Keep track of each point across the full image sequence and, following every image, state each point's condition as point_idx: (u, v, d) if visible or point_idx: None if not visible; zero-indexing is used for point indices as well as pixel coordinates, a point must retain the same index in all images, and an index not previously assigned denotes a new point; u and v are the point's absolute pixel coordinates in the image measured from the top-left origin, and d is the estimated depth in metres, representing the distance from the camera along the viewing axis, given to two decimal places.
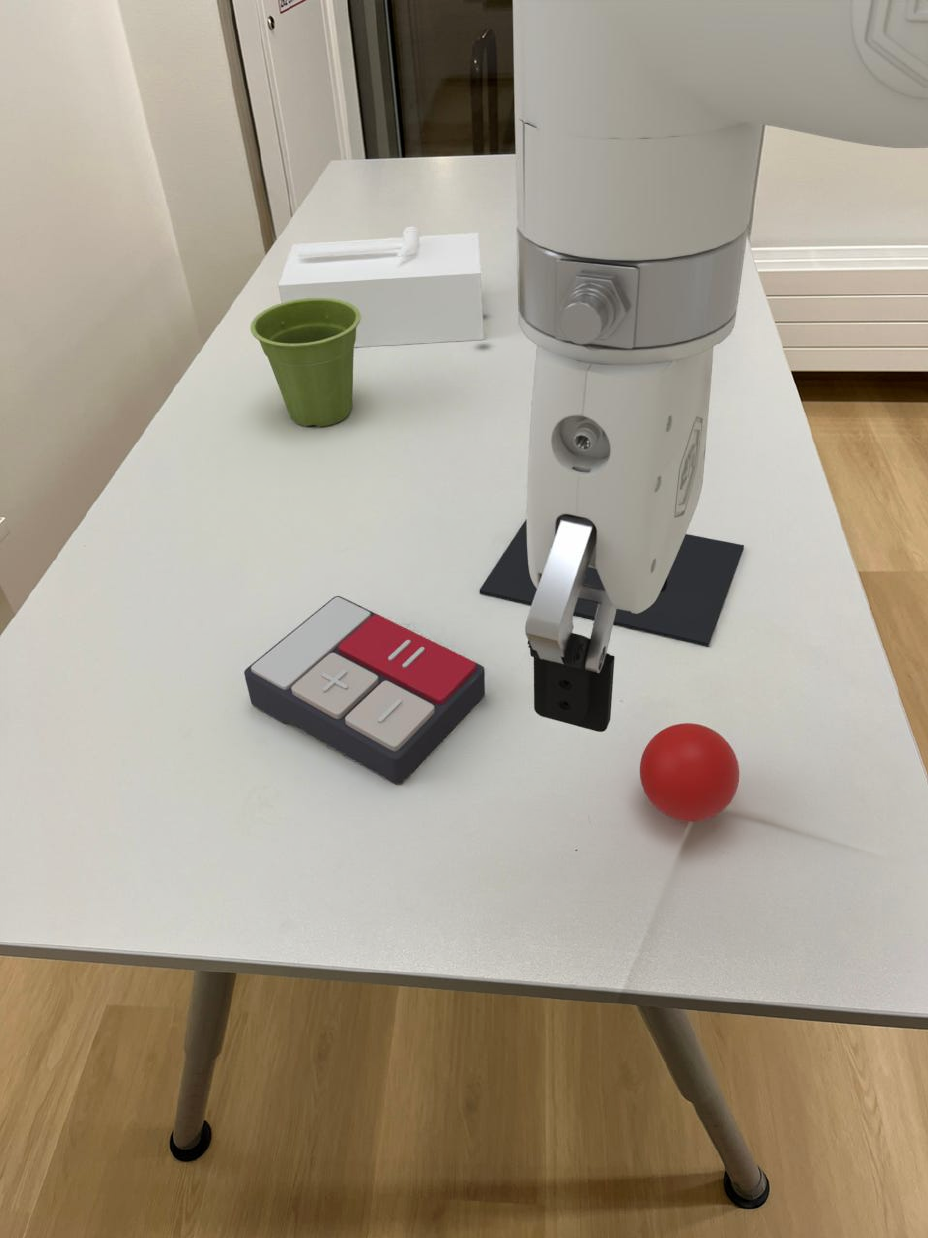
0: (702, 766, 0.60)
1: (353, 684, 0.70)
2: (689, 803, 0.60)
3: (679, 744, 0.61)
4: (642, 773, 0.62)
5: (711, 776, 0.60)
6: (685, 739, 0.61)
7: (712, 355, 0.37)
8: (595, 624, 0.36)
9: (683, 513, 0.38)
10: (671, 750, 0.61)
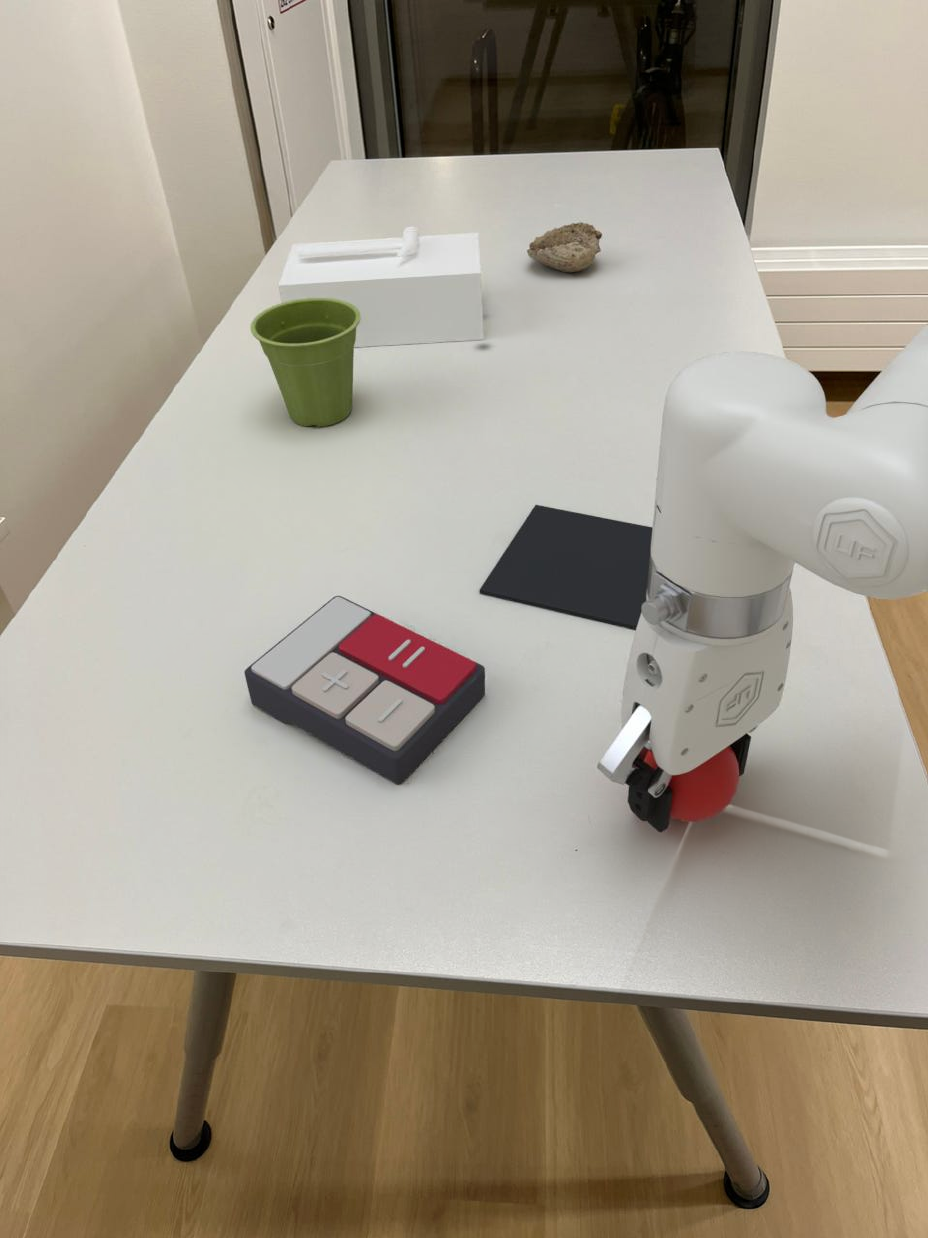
0: (702, 765, 0.60)
1: (354, 684, 0.70)
2: (689, 803, 0.60)
3: None
4: None
5: (711, 776, 0.60)
6: None
7: (785, 634, 0.55)
8: (656, 771, 0.58)
9: (735, 724, 0.57)
10: None
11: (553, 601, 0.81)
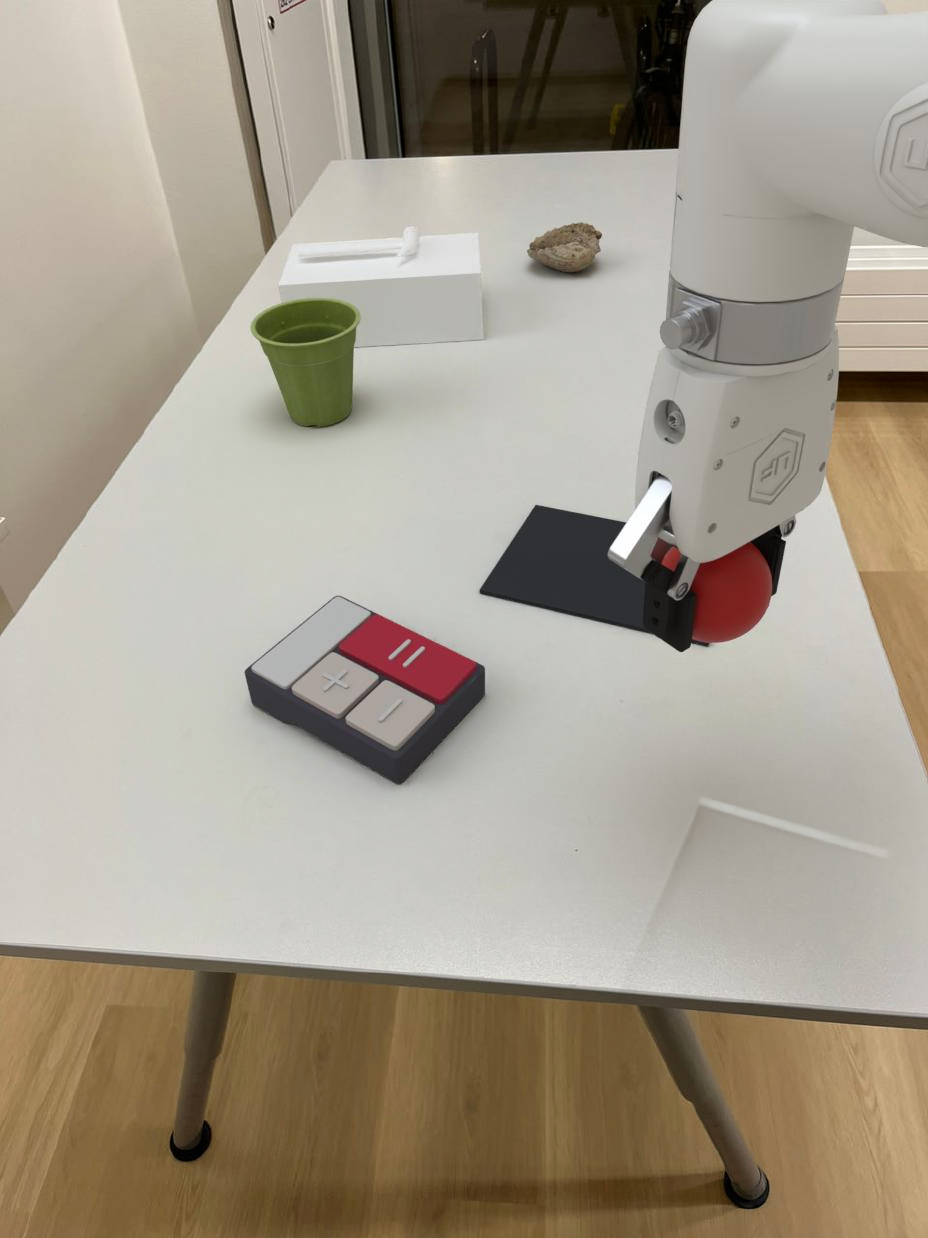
0: (730, 567, 0.51)
1: (354, 684, 0.70)
2: (715, 613, 0.51)
3: None
4: None
5: (740, 580, 0.51)
6: None
7: (830, 387, 0.46)
8: (677, 566, 0.49)
9: (771, 503, 0.48)
10: None
11: (553, 601, 0.81)
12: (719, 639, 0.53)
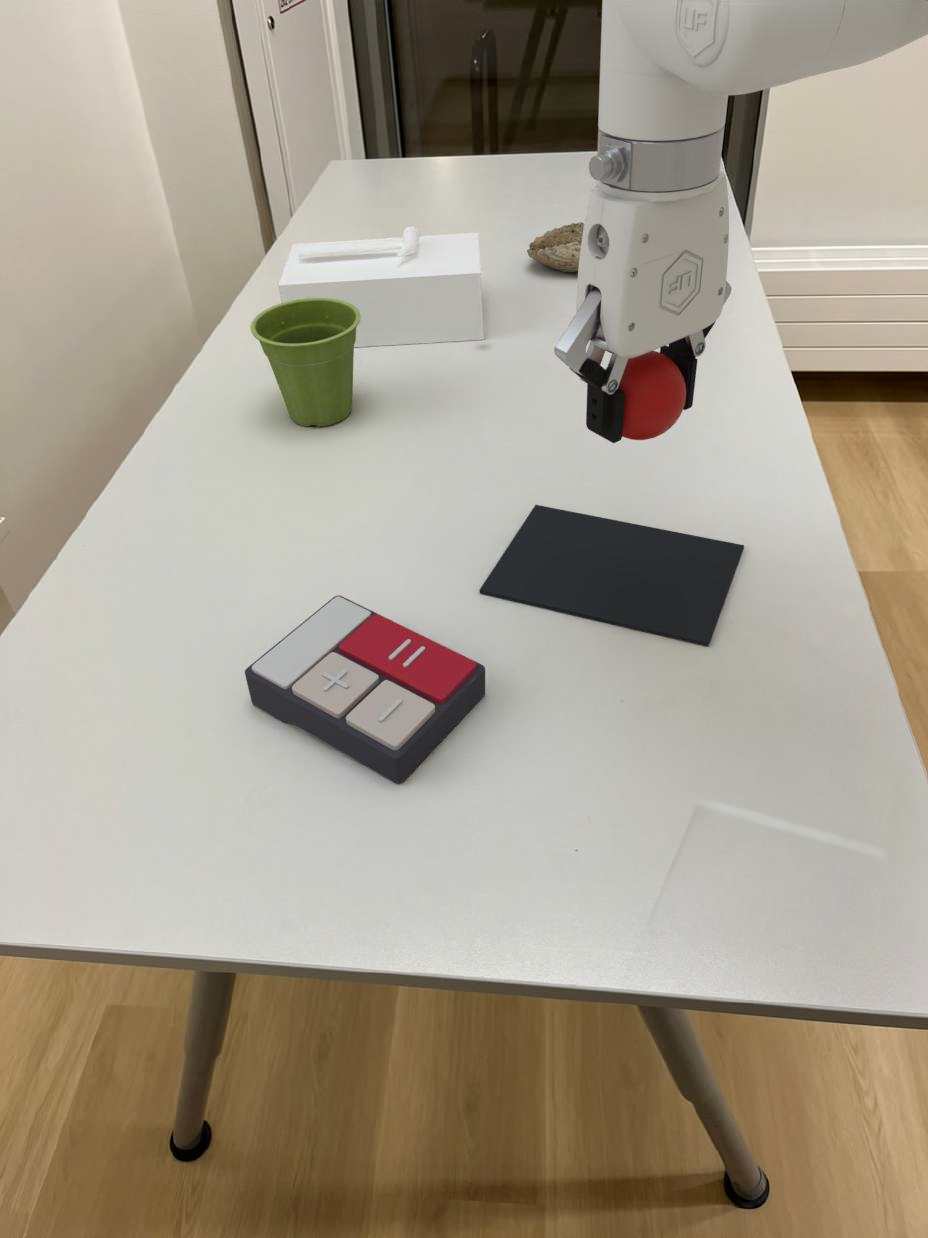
0: (651, 372, 0.66)
1: (354, 684, 0.70)
2: (639, 408, 0.66)
3: (630, 358, 0.67)
4: None
5: (659, 381, 0.66)
6: None
7: (722, 222, 0.61)
8: (608, 365, 0.64)
9: (678, 314, 0.63)
10: None
11: (553, 601, 0.81)
12: (644, 433, 0.68)
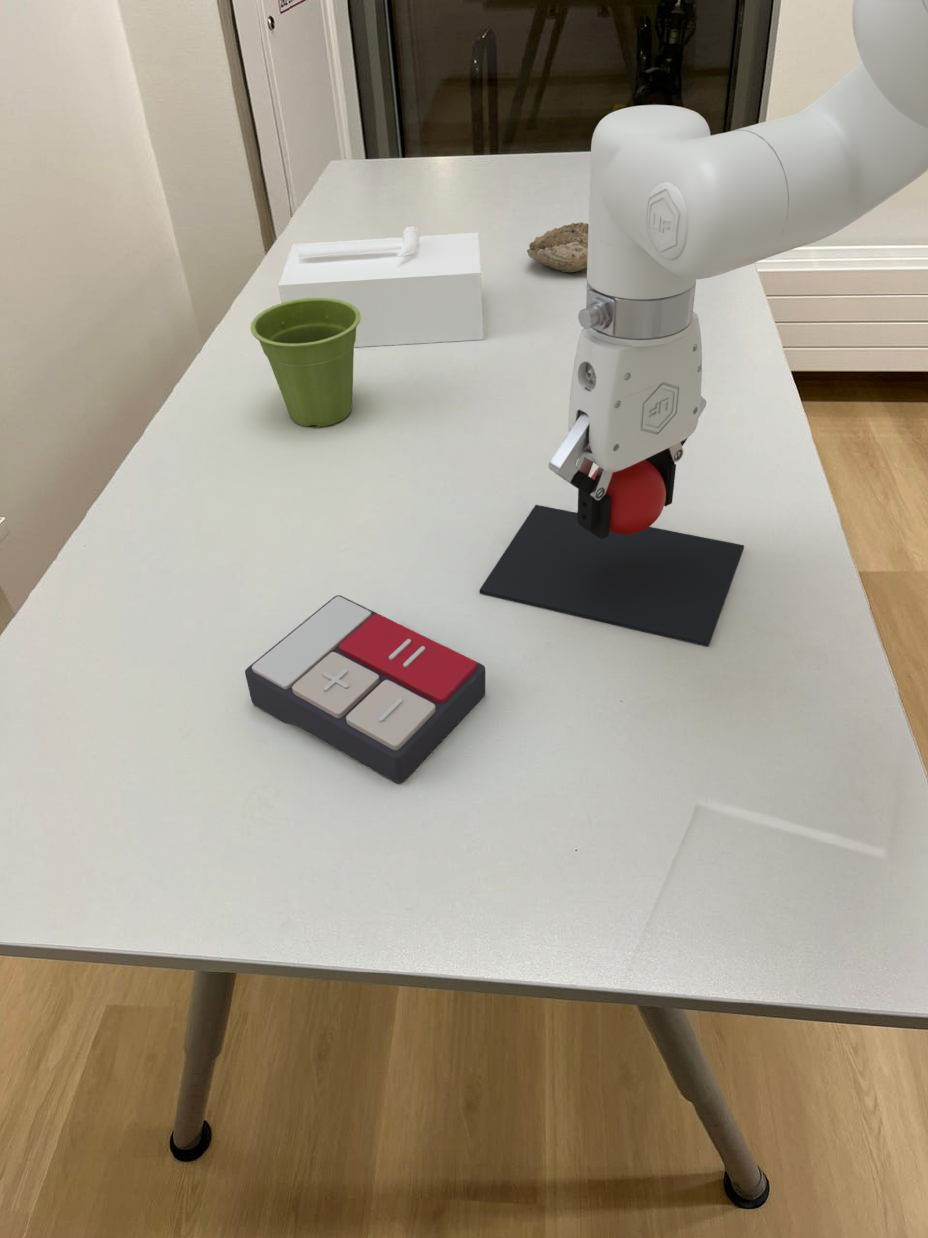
0: (634, 478, 0.75)
1: (354, 684, 0.70)
2: (624, 510, 0.75)
3: None
4: None
5: (641, 487, 0.75)
6: None
7: (695, 356, 0.70)
8: (596, 476, 0.73)
9: (658, 433, 0.72)
10: None
11: (553, 601, 0.81)
12: (628, 530, 0.77)
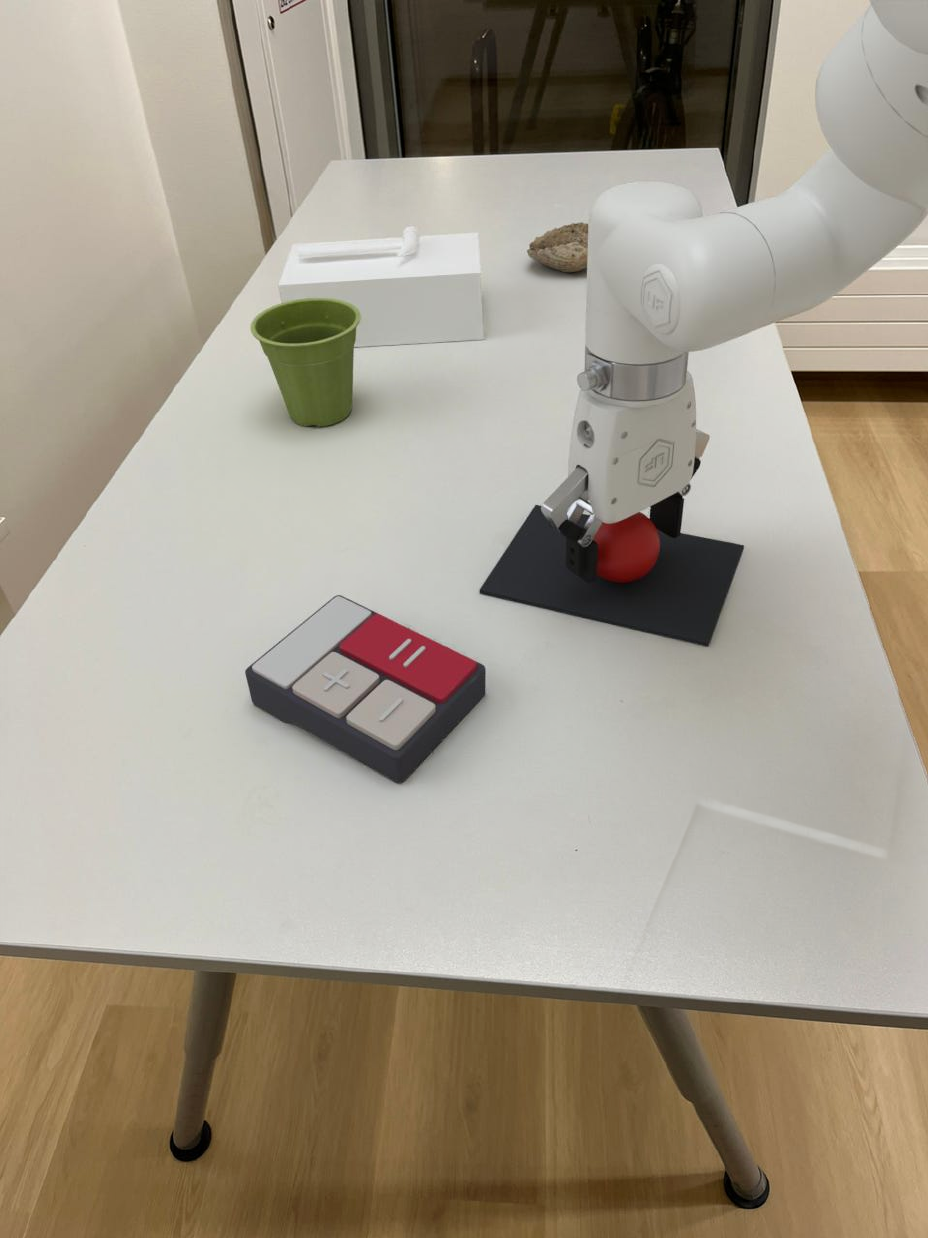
0: (628, 530, 0.78)
1: (354, 683, 0.70)
2: (619, 560, 0.79)
3: None
4: None
5: (635, 538, 0.78)
6: None
7: (689, 413, 0.73)
8: (586, 522, 0.75)
9: (654, 486, 0.75)
10: None
11: (553, 601, 0.81)
12: (625, 579, 0.80)
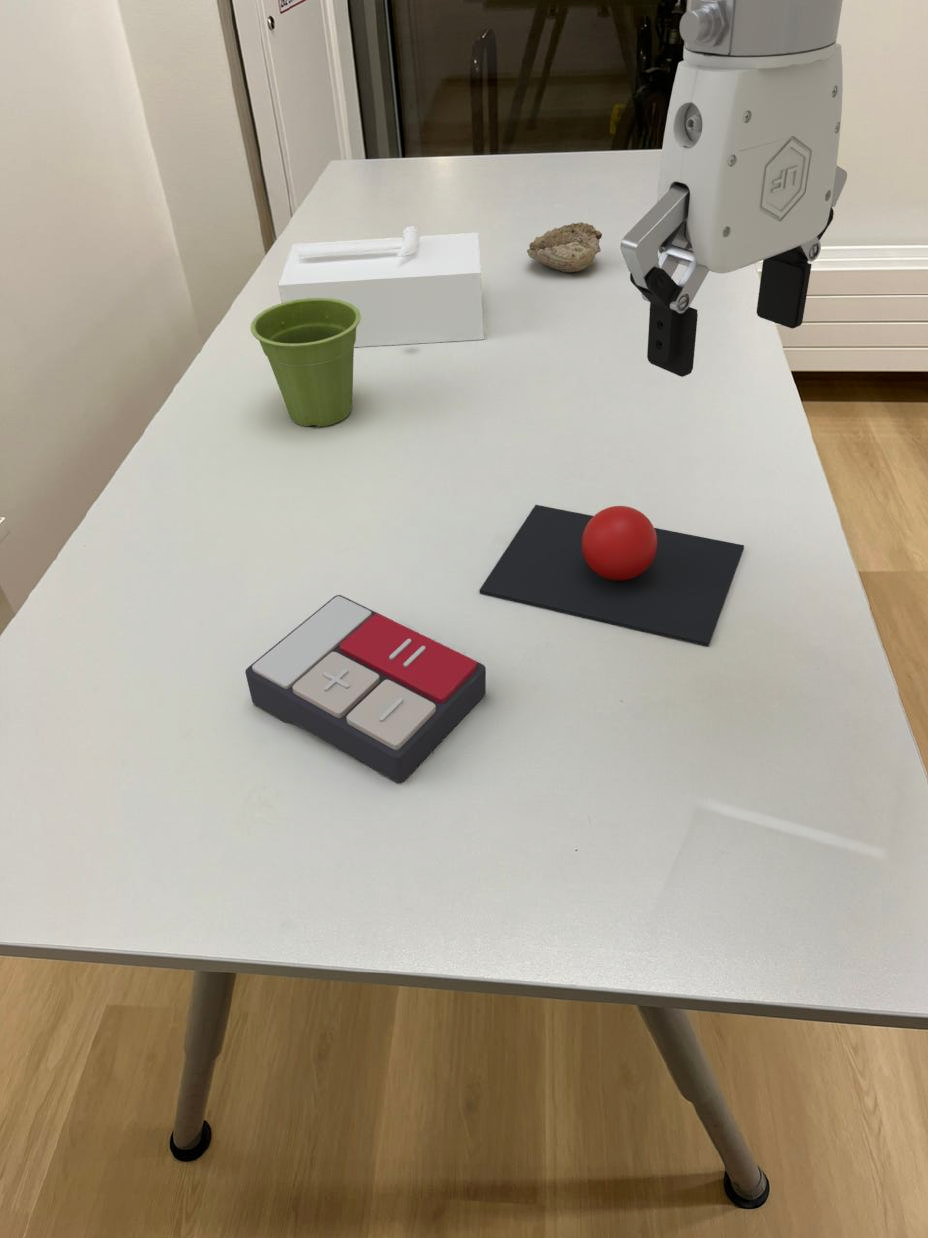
0: (623, 524, 0.79)
1: (355, 683, 0.70)
2: (616, 555, 0.79)
3: (606, 514, 0.80)
4: (582, 544, 0.81)
5: (630, 532, 0.78)
6: (611, 510, 0.80)
7: (834, 105, 0.51)
8: (683, 275, 0.52)
9: (780, 221, 0.52)
10: (600, 519, 0.80)
11: (553, 601, 0.81)
12: (623, 575, 0.80)
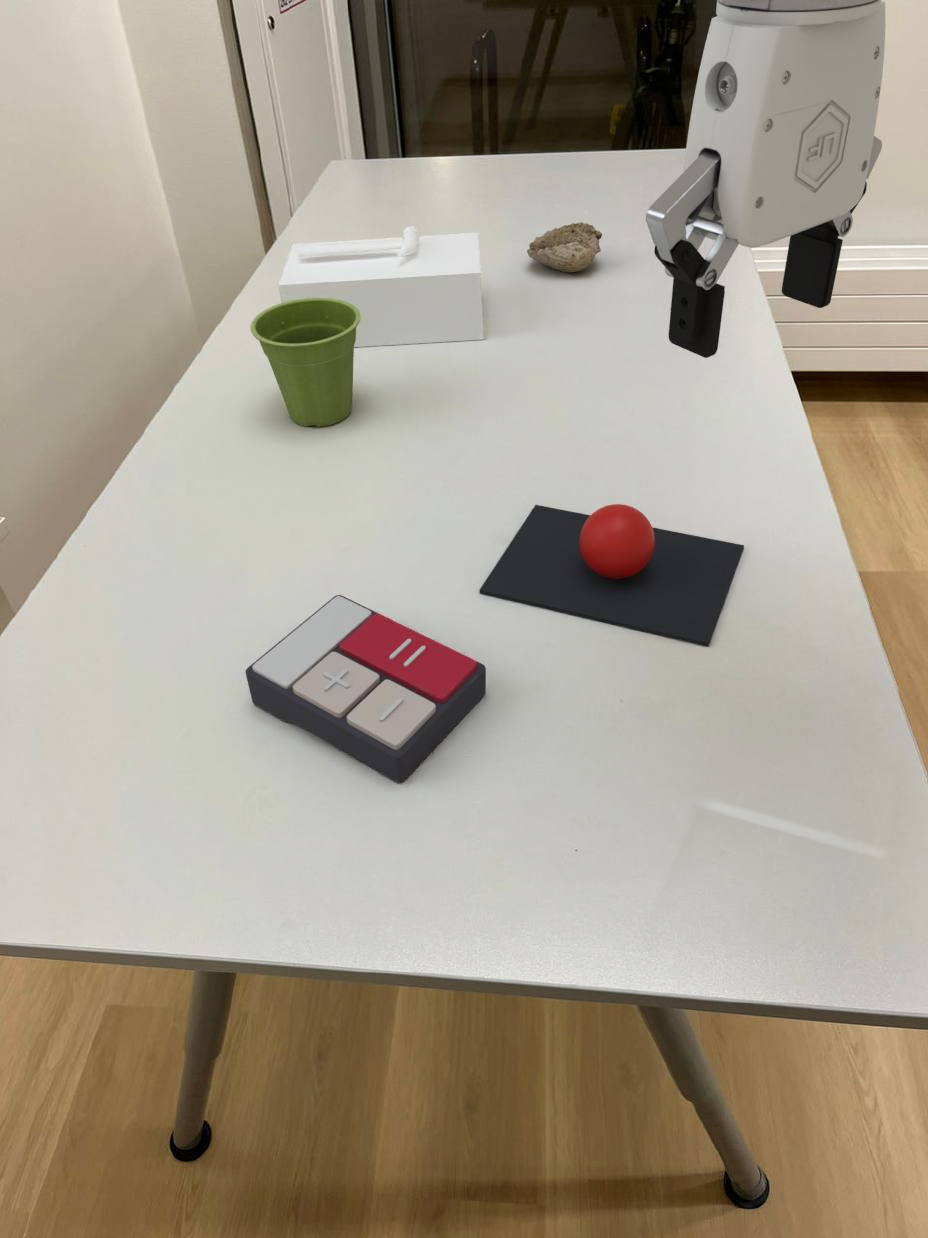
0: (619, 520, 0.79)
1: (355, 683, 0.70)
2: (613, 550, 0.79)
3: (602, 511, 0.80)
4: (580, 544, 0.82)
5: (626, 527, 0.79)
6: (606, 508, 0.80)
7: (876, 68, 0.47)
8: (711, 248, 0.49)
9: (815, 192, 0.49)
10: (596, 516, 0.80)
11: (553, 601, 0.81)
12: (622, 571, 0.80)
